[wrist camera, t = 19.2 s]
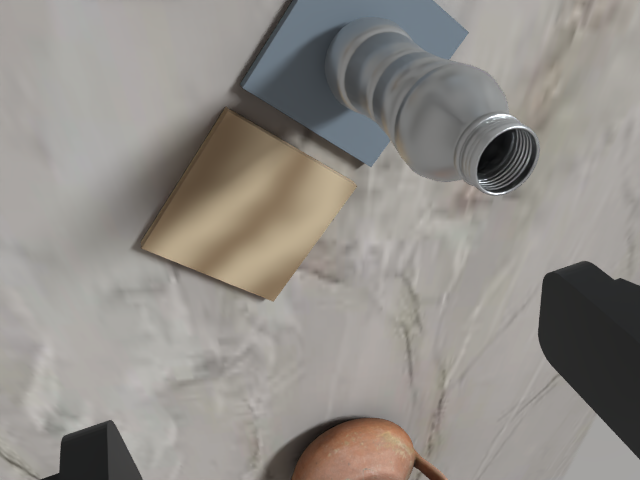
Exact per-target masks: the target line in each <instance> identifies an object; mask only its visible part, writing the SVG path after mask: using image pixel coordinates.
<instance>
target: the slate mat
mask: <svg viewBox="0 0 640 480" xmlns="http://www.w3.org/2000/svg"><path fill="white" fill-rule="evenodd" d="M364 17H377V18H384V19H388V20H390V21H393V22H395V23H396V24H397V25H399V26H400V27H401V28H402V29H403V30H404V31H405V32H406V33H407V34H408V35H409V36H410V37H411V39H412V40H413V42H414V43H416V44H417V45H418V46H419V47H421V48H422V49H423V50H424V51H426V52H428V53H431V54H433V55H435V56H438V57H440V58H442V59H447V60H449V59H450V58H451V56H452V55H453V54H454V52H455V51H456V50H457V48H458V47H459V45H460V44H461V43H462V41H463V40H464V38H465V37H466V36H467V34H468V33H469V32H468V31H467V30H465V29H464V28H463V27H462V26H461V25H460V24H459V23H458V22H456V21H455V20H454V19H453V18H452V17H451V16H450V15H449V14H447V13H446V12H445V11H444V10H443V9H442V8H441V7H440V6H439V5H437V4H436V3H435V2H434V1H433V0H292V2H291V4H290V5H289V7H288V8H287V10H286V12H285V13H284V15H283V16H282V18H281V20H280V21H279V23H278V24H277V26H276V28H275V29H274V31H273V32H272V34H271V35H270V37H269V39H268V40H267V42H266V43H265V45H264V47H263V48H262V50H261V51H260V53H259V55H258V56H257V58H256V59H255V61H254V63H253V64H252V66H251V67H250V69H249V71H248V72H247V74H246V75H245V77H244V79H243V80H242V82H241V83H240V85H241V86H242V88H244V89H245V90H247V91H248V92H250V93H252V94H253V95H255V96H256V97H258V98H260V99H261V100H263V101H265V102H266V103H268V104H269V105H271V106H273V107H274V108H276V109H278V110H279V111H281V112H282V113H284V114H286V115H287V116H289V117H291V118H292V119H294V120H295V121H297V122H299V123H300V124H302V125H303V126H305V127H307V128H308V129H310V130H312V131H313V132H315V133H316V134H318V135H320V136H321V137H323V138H325V139H326V140H328V141H329V142H331V143H333V144H334V145H336V146H338V147H339V148H341V149H342V150H344V151H346V152H347V153H349V154H350V155H352V156H354V157H355V158H357V159H359V160H360V161H362V162H363V163H365V164H367V165H368V166H370V167H372V165H373V164H374V162H375V161H376V160H377V158H378V157H379V156H380V154H381V153H382V151H383V150H384V149H385V147H386V146H387V145H388V143H389V142H390V139H389V137H388V135H387V134H386V133H385V132H384V131H383V130H382V129H381V128H380V127H379V125H378V124H377V123H376V122H374V121H373V120H371V119H370V118H368V117H367V116H365V115H362V114H360V113H357V112H354V111H352V110H351V109H349V108H347V107H345V106H344V105H342V104H341V103H340V102H339V101H338V100H337V99H336V98H335V96H334V94H333V93H332V91H331V89H330V87H329V85H328V82H327V79H326V75H325V58H326V54H327V50H328V48H329V46H330V44H331V42H332V40H333V39H334V37H335V36H336V34H337V33H338V32H339V31H340V30H341V29H342V28H343V27H344V26H346V25H347V24H349V23H350V22H352V21H354V20H356V19H360V18H364Z"/></svg>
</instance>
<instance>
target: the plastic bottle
mask: <svg viewBox="0 0 640 480" xmlns="http://www.w3.org/2000/svg"><path fill="white" fill-rule="evenodd" d="M325 75H326V79H327V82H328V85H329V87H330V89H331V91H332V93H333V94H334V96H335V98H336V99H337V100H338V101H339V102H340V103H341V104H342V105H344V106H345V107H347V108H349V109H351V110H352V111H354V112H357V113H360V114H362V115H365V116H367V117H368V118H370V119H371V120H373V121H374V122H376V123H377V124H378V125H379V127H380V128H381V129H382V130H383V131H384V132H385V133H386V134H387V135H388V137H389V139H390V140H391V142H392V143H393V145H394V146H395V148H396V150H397V151H398V153H399V154H400V156H401V158H402V159H403V160H404V161H405V162H406V164H407V165H408V166H409V167H410V168H411V169H412V170H413V171H414V172H415V173H417V174H418V175H420V176H423V177H425V178H428V179H432V180H435V181H441V182H451V181H457V180H464V181H465V182H466V183H468V184H469V185H472V186H475V187H476V188H477V189H479V190H480V191H481V192H483V193H485V194H488V195H493V196H499V195H504V194H507V193H509V192H511V191H513V190H515V189H516V188H518V187H519V186H521V185H522V184H523V183H524V182H525V181H526V180H527V179H528V177H529V176H530V175H531V173H532V172H533V170H534V168H535V166H536V164H537V161H538V158H539V151H540V146H539V140H538V137H537V136H536V134H535V133H534V132H533V131H532V130H531V129H530V128H529V127H528V126H526V125H524V124H522V123H520V121H519V120H518V119H517V118H515V117H514V116H512V115H510V114H509V109H508V102H507V99H506V97H505V94H504V92H503V91H502V89H501V88H500V86H499V85H498V83H497V82H496V80H495V79H494V78H493V77H492V76H491V75H490V74H489V73H488V72H486V71H484V70H482V69H480V68H477V67H474V66H472V65H469V64H464V63H460V62H455V61H451V60H447V59H442V58H440V57H438V56H435V55H433V54H431V53H428V52H426V51H424V50H423V49H422V48H421V47H419V46H418V45H417V44H416V43H414V42H413V40H412V39H411V37H410V36H409V35H408V34H407V33H406V32H405V31H404V30H403V29H402V28H401V27H400V26H399V25H397V24H396V23H395V22H393V21H390V20H388V19H384V18H377V17H364V18H360V19H356V20H354V21H352V22H350V23H349V24H347V25H346V26H344V27H343V28H342V29H341V30H340V31H339V32H338V33H337V34H336V36H335V37H334V39H333V40H332V42H331V44H330V46H329V48H328V50H327V54H326V58H325Z"/></svg>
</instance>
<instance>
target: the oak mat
mask: <svg viewBox="0 0 640 480" xmlns="http://www.w3.org/2000/svg"><path fill="white" fill-rule="evenodd" d="M356 187H357V186H356V184H355V183H354V182H353V181H351V180H350V179H348V178H346V177H345V176H343V175H341V174H339V173H338V172H336V171H334V170H333V169H331V168H329V167H328V166H326V165H324V164H322V163H321V162H319V161H317V160H316V159H314V158H312V157H311V156H309V155H307V154H305V153H304V152H302V151H300V150H299V149H297V148H295V147H293V146H292V145H290V144H288V143H287V142H285V141H283V140H282V139H280V138H278V137H276V136H275V135H273V134H271V133H270V132H268V131H266V130H264V129H263V128H261V127H259V126H258V125H256V124H254V123H253V122H251V121H249V120H247V119H246V118H244V117H242V116H241V115H239V114H237V113H236V112H234V111H232V110H230V109H229V108H227V107H225V109H224V110H223V112H222V114H221V115H220V117H219V118H218V120H217V122H216V123H215V125H214V126H213V128H212V129H211V131H210V133H209V134H208V136H207V137H206V139H205V141H204V142H203V144H202V145H201V147H200V149H199V150H198V152H197V153H196V155H195V157H194V158H193V160H192V161H191V163H190V165H189V166H188V168H187V169H186V171H185V172H184V174H183V176H182V177H181V179H180V180H179V182H178V184H177V185H176V187H175V188H174V190H173V192H172V193H171V195H170V196H169V198H168V200H167V201H166V203H165V204H164V206H163V208H162V209H161V211H160V212H159V214H158V215H157V217H156V219H155V220H154V222H153V223H152V225H151V227H150V228H149V230H148V231H147V233H146V235H145V236H144V238H143V239H142V241H141V248H142V249H144V250H147V251H149V252H152V253H154V254H157V255H159V256H161V257H164V258H166V259H169V260H171V261H174V262H176V263H179V264H181V265H184V266H186V267H189V268H191V269H194V270H196V271H199V272H201V273H204V274H206V275H209V276H211V277H214V278H216V279H218V280H221V281H223V282H226V283H228V284H231V285H233V286H236V287H238V288H241V289H243V290H246V291H248V292H251V293H253V294H256V295H258V296H261V297H263V298H266V299H268V300H271V301H273V302H274V300H275V299H276V297H277V296H278V295H279V293H280V292H281V291H282V289H283V288H284V286H285V285H286V284H287V282H288V281H289V279H290V278H291V277H292V275H293V274H294V273H295V271H296V270H297V268H298V267H299V266H300V264H301V263H302V262H303V260H304V259H305V257H306V256H307V255H308V253H309V252H310V251H311V249H312V248H313V246H314V245H315V244H316V242H317V241H318V240H319V238H320V237H321V235H322V234H323V233H324V231H325V230H326V229H327V227H328V226H329V224H330V223H331V222H332V220H333V219H334V218H335V216H336V215H337V213H338V212H339V211H340V209H341V208H342V207H343V205H344V204H345V202H346V201H347V200H348V198H349V197H350V195H351V194H352V193H353V191H354V190H355V189H356Z"/></svg>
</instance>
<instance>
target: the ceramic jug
mask: <svg viewBox="0 0 640 480" xmlns="http://www.w3.org/2000/svg"><path fill="white" fill-rule="evenodd" d="M413 467H415V468H417V469H419V470H420V471H421V472H422V473H423V474H424V475H425V476H426V477H428V478H429V479H430V480H448V479H447V478H446V477H445V476H444V474H443V473H442V472H441V471H439V470H438V469H437V468H436V467H435V466H433V465H432V464H431V463H429V462H428V461H426V460H424V459H423V458H422V457H421V456H420V455H419V454H418V453H417V452H416V451H415V449H414V448H413V444H412V441H411V439H410V437H409V436H408V434H407V433H406V432H405V431H404V430H403V429H402V428H401V427H399V426H398V425H397V424H395V423H393V422H391V421H388V420H384V419H379V418H360V419H354V420H350V421H347V422H344V423H341V424H339V425H337V426H335V427H333V428H331V429H329V430H327V431H326V432H324V433H322V434H321V435H320V436H318V437H317V438H316V439H315V440H314V441H313V442H312V443H311V444H310V445H309V446H308V447H307V448H306V449H305V451H304V452H303V453H302V455H301V456H300V458H299V460H298V462H297V464H296V467H295V470H294V473H293V476H292V479H291V480H408V478H409V477H410V474H411V472H412V469H413Z"/></svg>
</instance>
